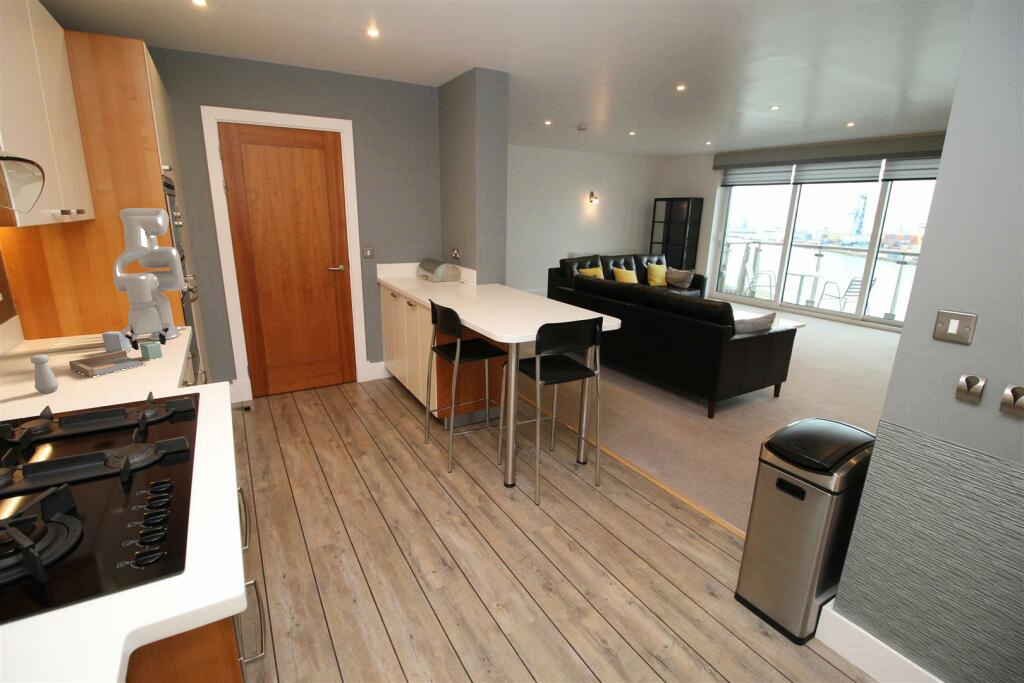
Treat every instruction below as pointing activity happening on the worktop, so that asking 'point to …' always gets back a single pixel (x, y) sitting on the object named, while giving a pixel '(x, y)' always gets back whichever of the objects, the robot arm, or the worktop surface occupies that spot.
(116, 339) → the medicine box
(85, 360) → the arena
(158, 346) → the green block
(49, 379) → the salt shaker
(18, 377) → the worktop surface
